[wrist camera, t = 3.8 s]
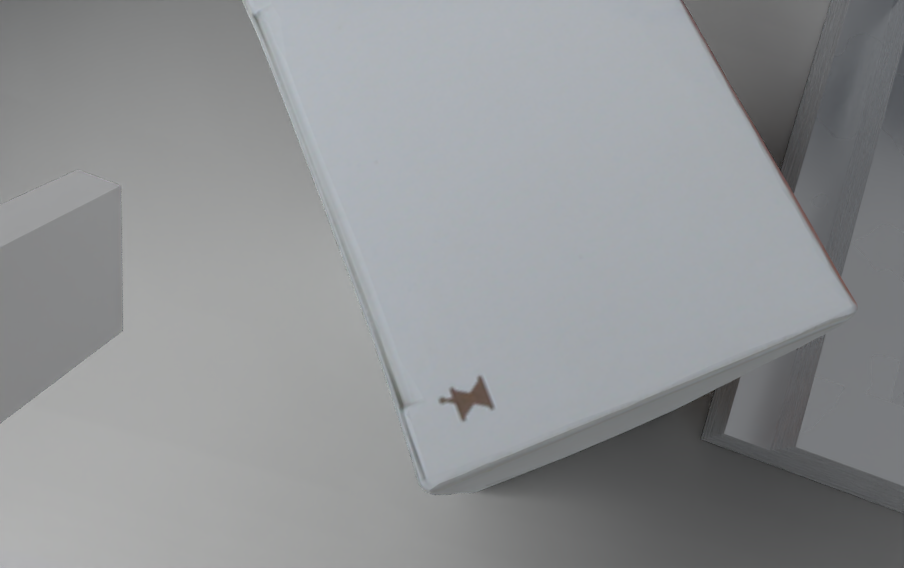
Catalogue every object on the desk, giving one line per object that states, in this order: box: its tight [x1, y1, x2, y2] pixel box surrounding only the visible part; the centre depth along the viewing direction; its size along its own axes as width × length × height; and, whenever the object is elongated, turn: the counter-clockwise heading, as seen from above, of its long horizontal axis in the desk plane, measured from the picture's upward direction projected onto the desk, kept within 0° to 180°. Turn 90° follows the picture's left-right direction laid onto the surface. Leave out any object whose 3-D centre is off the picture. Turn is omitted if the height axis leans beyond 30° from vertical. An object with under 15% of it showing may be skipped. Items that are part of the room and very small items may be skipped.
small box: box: [242, 0, 858, 495], centre depth 15 cm, size 8×6×10 cm
